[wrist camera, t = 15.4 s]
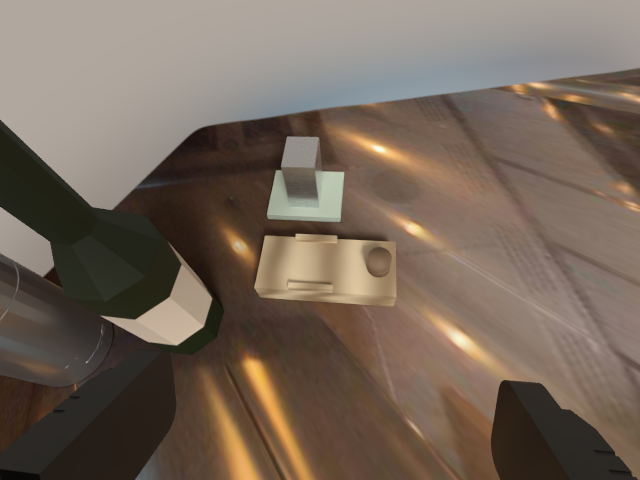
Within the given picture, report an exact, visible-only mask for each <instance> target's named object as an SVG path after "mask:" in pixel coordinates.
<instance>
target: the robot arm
mask: <svg viewBox="0 0 640 480" xmlns="http://www.w3.org/2000/svg"><path fill="white" fill-rule="evenodd" d="M112 339H113V328H112V323H111V321H109V320H107V319H105V318H103V317H101V316H100V315H98V314H96V313H94V312H92V311H90V310H89V309H87V308H85V307H83V306H81V305H79V304H78V303H76V302H74V301H72V300H70V299H68V298H67V297H66V295H65V292H64V290H63V289H62V288H61V287H59V286H57V285H55V284H54V283H52V282H50V281H48V280H47V279H45V278H43V277H41V276H40V275H38V274H36V273H34V272H32V271H31V270H29V269H27V268H26V267H24V266H22V265H20V264H19V263H17V262H15V261H13V260H12V259H10V258H8V257H6V256H4V255H2V254H0V375H4V376H8V377H13V378H17V379H22V380H25V381H30V382H34V383H39V384H44V385H48V386H54V387H63V386H69V385H72V384H75V383H77V382H79V381H81V380H83V379H84V378H86V377H87V376H89V375H90V374H91V373H92V372H94V371H95V369H96V368H97V367H98V366H99V365H100V364H101V363H102V361H103V360H104V358H105V357H106V355H107V353H108V351H109V349H110V346H111V343H112ZM175 412H176V397H175V387H174V377H173V367H172V358H171V355H170V354H169V353H168V352H167V351H156V350H144V349H137V350H134V351H133V352H132V353H131V354H129V355H128V356H127V357H126V358H125V359H124V360H123V361H121V362H120V363H119V364H118V365H117V366H116V367H114V368H110V369H109V370H107V371H105V372H103V373H101V374H99V375H97V376H95V377H93V378H92V379H90V380H88V381H87V382H86V383H84V384H83V385H82V386H81V387H80V388H78V389H77V390H76V391H75V392H74V393H72V394H71V395H70V397H69V399H65V400H64V401H63V402H62V403H60V404H59V405H58V406H57V407H56V408H54V410H53V412H52V413H48V414H47V415H46V416H45V417H44V418H42V419H41V420H40V421H39V422H38V423H36V424H35V425H34V426H33V427H32V428H30V429H29V430H28V431H27V432H26V433H25V434H23V435H22V436H21V437H20V438H19V439H17V440H16V441H15V442H14V443H13V444H11V445H10V446H9V447H8V448H7V449H5V450H4V451H3V452H2V453H1V454H0V480H135V479H136V477H137V476H138V474H139V473H140V472H141V470H142V469H143V467H144V466H145V464H146V463H147V461H148V460H149V459H150V457H151V456H152V454H153V453H154V451H155V450H156V449H157V447H158V446H159V444H160V443H161V441H162V440H163V438H164V437H165V436H166V434H167V433H168V431H169V429H170V427H171V425H172V423H173V420H174V417H175ZM491 449H492V456H493V461H494V464H495V467H496V470H497V472H498V475H499V477H500V480H638V479H637V478H636V477H633V476H632V474H631V471H630V470H629V468H628V467H627V466H626V465H625V464H624V462H623V461H622V460H621V459H620V458H619V457H617V456H615V452H614V450H613V449H612V448H611V447H610V446H609V444H608V443H607V442H606V441H605V440H604V438H603V437H602V436H601V435H600V434H599V432H598V431H597V430H596V429H595V428H594V427H592V426H591V425H590V424H588V423H587V422H586V421H584V420H583V419H582V418H580V417H579V416H578V415H576V414H575V413H574V412H572V411H571V410H565V409H561V408H560V406H559V405H558V404H557V402H556V401H555V400H554V399H553V397H552V396H551V395H550V393H549V392H548V391H547V389H546V388H545V387H544V386H543V385H542V384H540V383H533V382H521V381H509V380H504V381H502V382H501V384H500V387H499V391H498V398H497V404H496V410H495V416H494V423H493V429H492V435H491Z"/></svg>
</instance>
